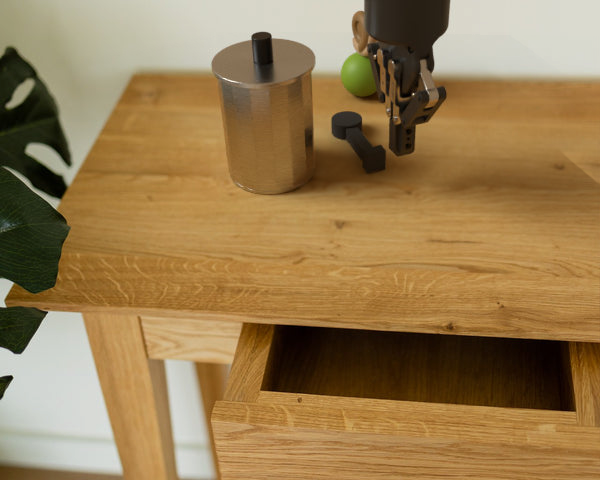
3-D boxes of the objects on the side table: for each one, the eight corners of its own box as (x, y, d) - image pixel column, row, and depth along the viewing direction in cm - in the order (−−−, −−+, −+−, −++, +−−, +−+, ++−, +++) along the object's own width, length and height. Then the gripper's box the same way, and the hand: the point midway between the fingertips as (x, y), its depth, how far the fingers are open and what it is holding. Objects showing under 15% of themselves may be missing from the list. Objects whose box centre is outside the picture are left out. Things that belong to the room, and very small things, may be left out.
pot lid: (296, 41, 81) (294, 7, 79) (330, 82, 74) (330, 46, 71) (201, 59, 79) (197, 25, 77) (227, 103, 72) (223, 67, 69)
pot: (298, 141, 89) (293, 38, 80) (326, 183, 82) (324, 75, 74) (220, 158, 87) (206, 54, 78) (243, 202, 80) (230, 94, 72)
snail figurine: (356, 111, 93) (357, 14, 85) (333, 90, 98) (332, -4, 90) (395, 101, 95) (399, 5, 87) (371, 80, 99) (373, -13, 91)
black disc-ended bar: (355, 122, 91) (355, 103, 90) (391, 168, 84) (392, 149, 82) (327, 127, 91) (326, 109, 89) (361, 175, 83) (361, 155, 81)
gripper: (485, -6, 61) (466, 176, 73) (414, -53, 71) (407, 114, 83) (400, 11, 60) (394, 194, 72) (339, -40, 69) (343, 129, 81)
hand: (401, 151), depth 77 cm, fingers closed
